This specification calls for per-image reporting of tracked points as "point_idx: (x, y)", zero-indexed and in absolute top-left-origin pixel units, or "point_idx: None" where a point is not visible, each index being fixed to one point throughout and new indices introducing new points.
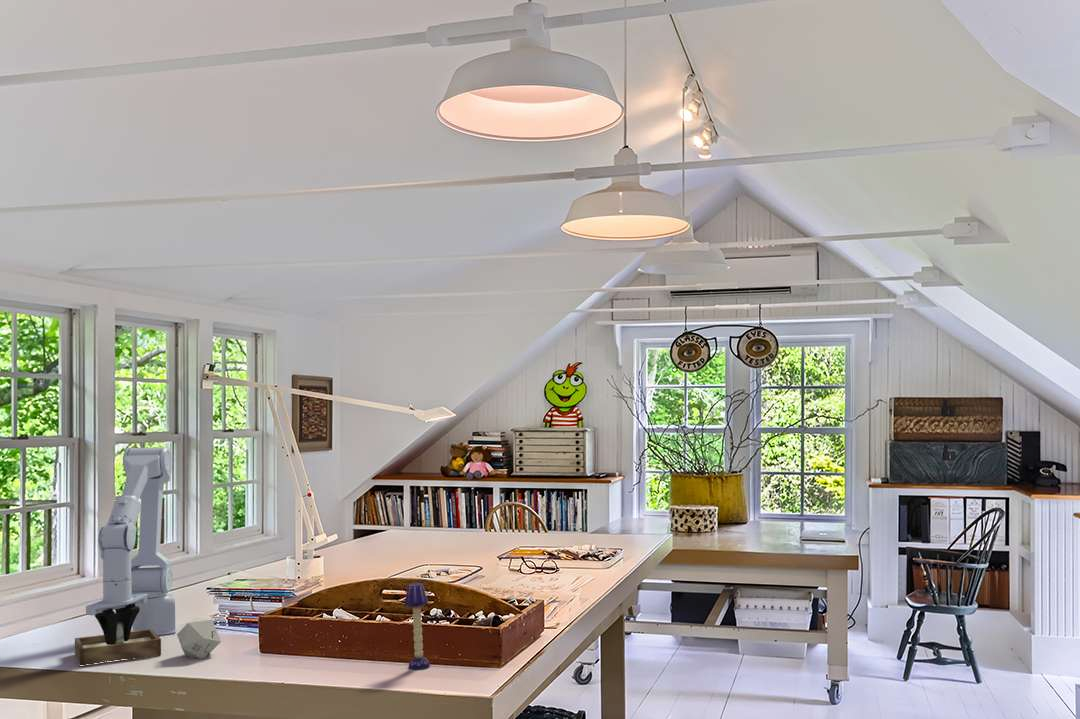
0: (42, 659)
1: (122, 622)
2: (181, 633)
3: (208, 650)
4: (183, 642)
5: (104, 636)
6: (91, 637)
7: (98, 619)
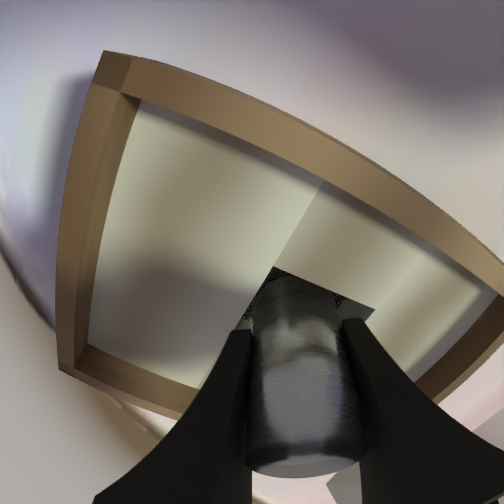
0: (23, 46)
1: (330, 470)
2: (353, 501)
3: None
4: (332, 493)
5: (213, 366)
6: (225, 131)
7: (133, 484)
